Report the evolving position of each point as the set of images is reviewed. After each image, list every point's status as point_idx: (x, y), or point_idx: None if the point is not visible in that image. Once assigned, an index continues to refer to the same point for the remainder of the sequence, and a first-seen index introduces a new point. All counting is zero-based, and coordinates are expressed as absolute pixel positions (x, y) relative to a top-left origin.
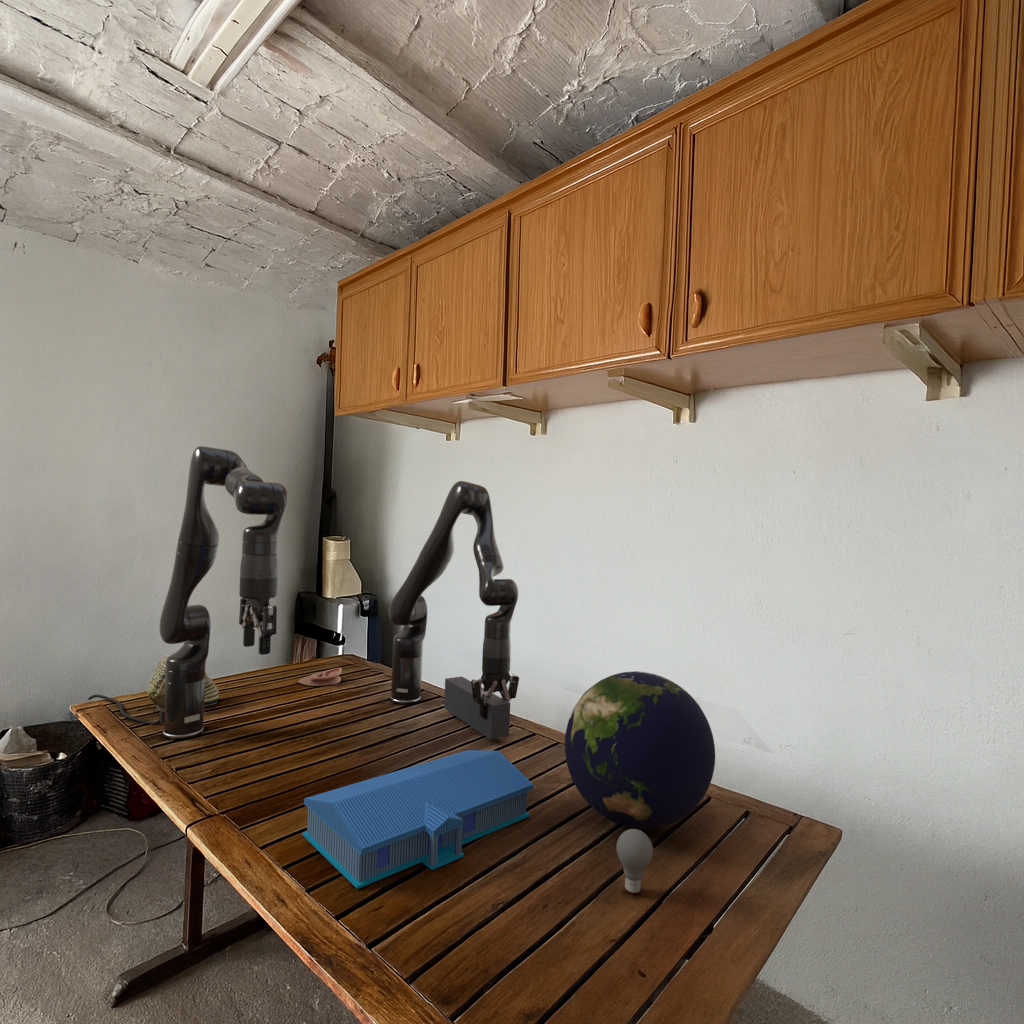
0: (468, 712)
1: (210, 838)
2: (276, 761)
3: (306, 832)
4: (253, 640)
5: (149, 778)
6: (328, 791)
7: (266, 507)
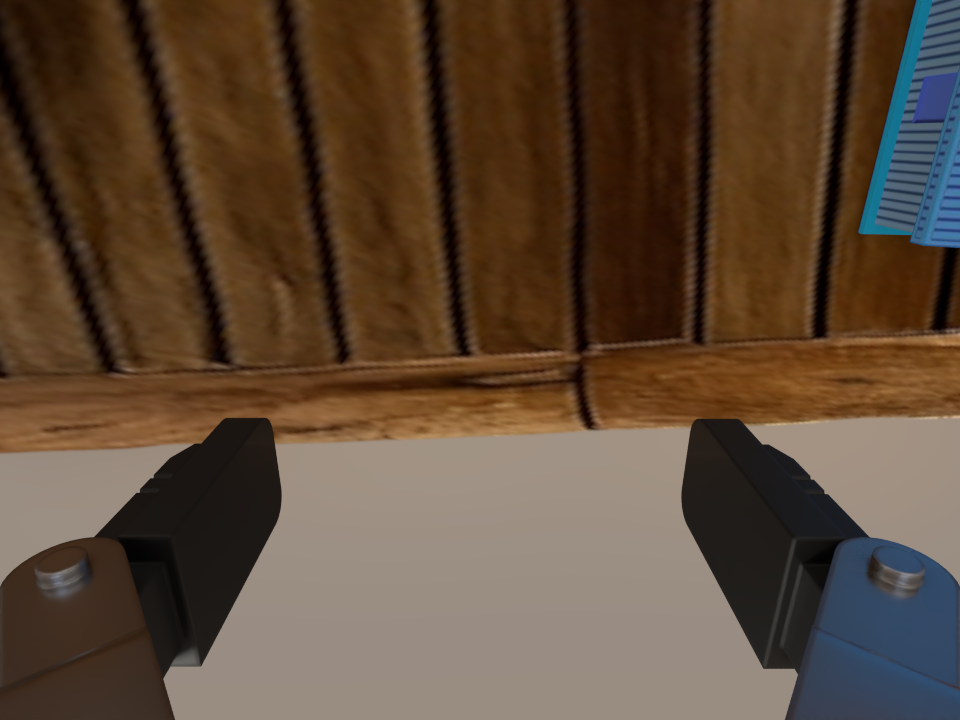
0: None
1: (687, 409)
2: (321, 68)
3: (871, 225)
4: (244, 451)
5: None
6: (952, 154)
7: None
